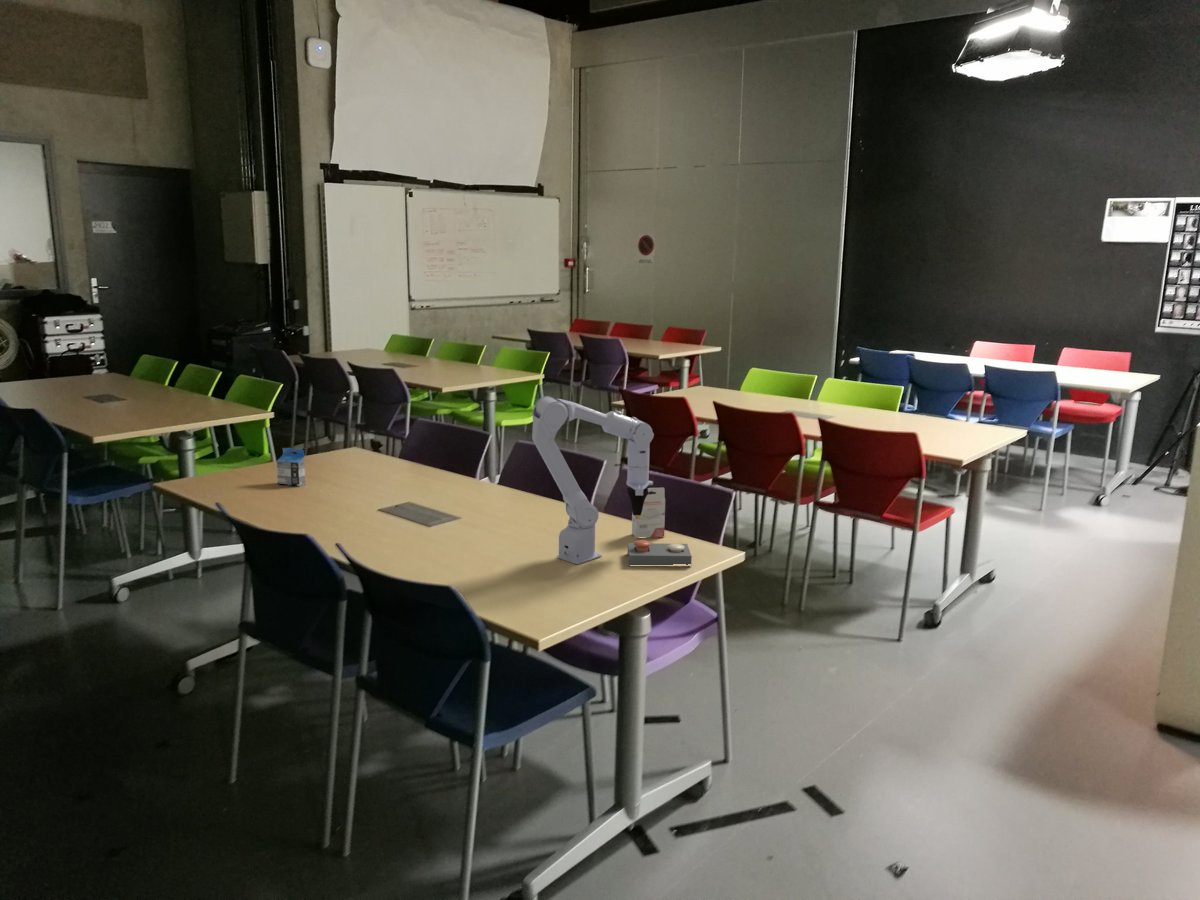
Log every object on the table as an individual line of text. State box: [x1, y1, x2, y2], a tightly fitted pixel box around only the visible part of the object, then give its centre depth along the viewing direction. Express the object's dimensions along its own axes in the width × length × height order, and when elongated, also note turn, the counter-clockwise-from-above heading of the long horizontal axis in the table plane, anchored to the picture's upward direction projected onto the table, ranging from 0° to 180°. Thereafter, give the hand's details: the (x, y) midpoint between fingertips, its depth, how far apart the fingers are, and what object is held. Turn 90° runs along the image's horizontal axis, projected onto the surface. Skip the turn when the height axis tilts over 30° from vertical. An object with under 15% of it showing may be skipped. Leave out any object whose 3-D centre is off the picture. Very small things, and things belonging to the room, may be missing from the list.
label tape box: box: [276, 447, 306, 487], centre depth 300 cm, size 9×4×12 cm, turn 73°
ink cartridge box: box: [631, 487, 666, 539], centre depth 251 cm, size 9×5×15 cm, turn 106°
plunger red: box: [633, 539, 651, 552], centre depth 231 cm, size 4×4×4 cm
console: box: [627, 542, 693, 566], centre depth 232 cm, size 16×10×3 cm, turn 91°
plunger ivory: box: [668, 543, 685, 552], centre depth 232 cm, size 4×4×4 cm
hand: (636, 514), depth 236 cm, fingers closed
